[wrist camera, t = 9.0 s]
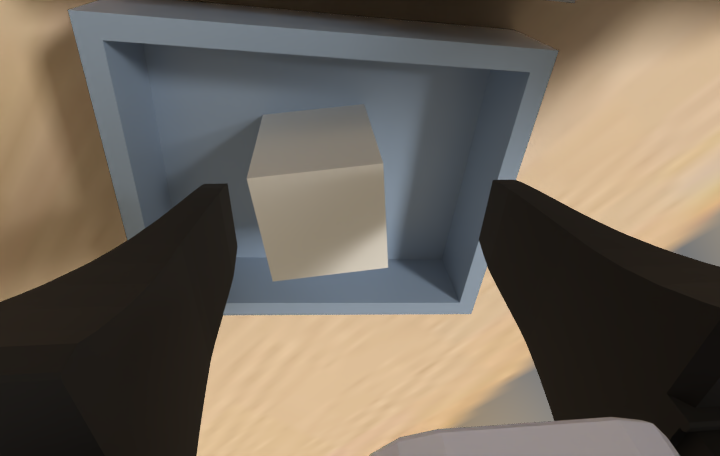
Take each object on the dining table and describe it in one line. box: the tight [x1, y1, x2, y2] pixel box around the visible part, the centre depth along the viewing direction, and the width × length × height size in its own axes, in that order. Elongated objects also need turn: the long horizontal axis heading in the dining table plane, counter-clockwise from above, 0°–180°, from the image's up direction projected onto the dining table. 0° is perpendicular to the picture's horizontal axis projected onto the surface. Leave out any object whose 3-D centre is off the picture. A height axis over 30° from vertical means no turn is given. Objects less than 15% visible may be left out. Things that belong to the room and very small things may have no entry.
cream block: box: [247, 104, 388, 281], centre depth 18 cm, size 4×4×6 cm
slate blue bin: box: [68, 0, 558, 315], centre depth 19 cm, size 16×13×4 cm
